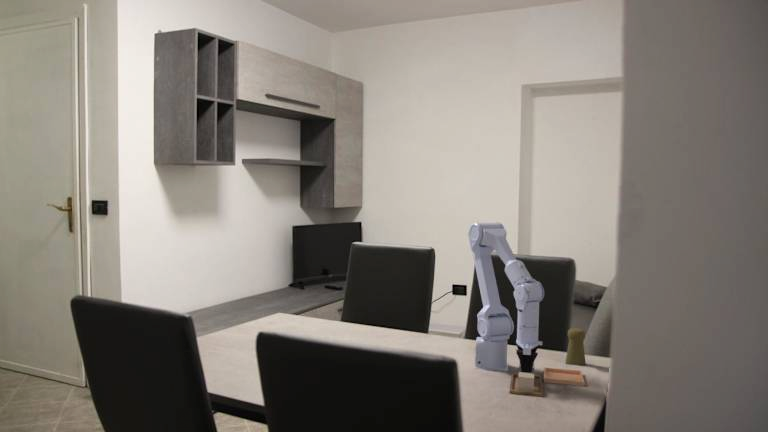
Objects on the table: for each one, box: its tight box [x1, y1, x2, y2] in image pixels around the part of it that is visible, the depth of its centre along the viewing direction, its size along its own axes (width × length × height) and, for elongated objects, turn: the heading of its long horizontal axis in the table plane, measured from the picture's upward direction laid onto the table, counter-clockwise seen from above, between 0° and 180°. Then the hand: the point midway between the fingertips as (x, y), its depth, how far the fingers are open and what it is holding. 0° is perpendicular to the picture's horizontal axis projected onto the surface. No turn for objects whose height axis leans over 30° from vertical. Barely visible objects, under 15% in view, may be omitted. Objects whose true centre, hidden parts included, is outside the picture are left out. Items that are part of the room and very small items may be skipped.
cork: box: [565, 327, 587, 367], centre depth 173 cm, size 6×6×11 cm
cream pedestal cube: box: [518, 371, 535, 392], centre depth 147 cm, size 4×4×4 cm
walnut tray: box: [509, 372, 543, 398], centre depth 151 cm, size 8×15×1 cm, turn 165°
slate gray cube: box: [518, 361, 535, 374], centre depth 155 cm, size 4×4×4 cm
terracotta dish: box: [542, 366, 585, 387], centre depth 158 cm, size 11×11×2 cm
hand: (526, 373), depth 155 cm, fingers closed on slate gray cube, 4 cm apart
